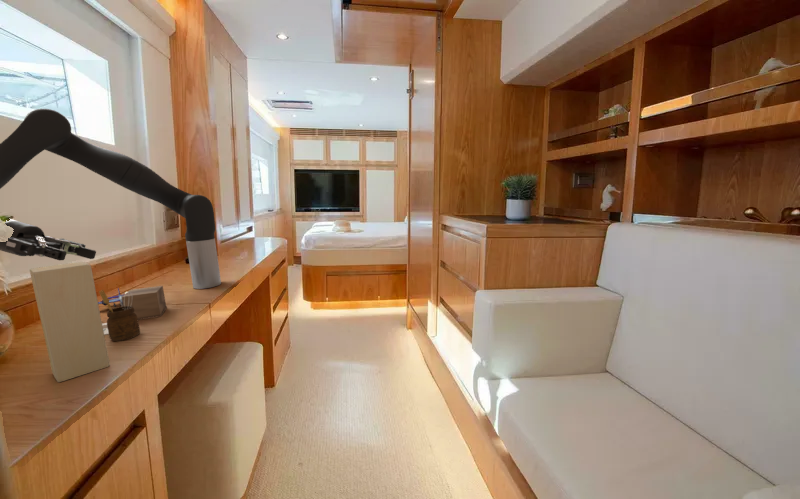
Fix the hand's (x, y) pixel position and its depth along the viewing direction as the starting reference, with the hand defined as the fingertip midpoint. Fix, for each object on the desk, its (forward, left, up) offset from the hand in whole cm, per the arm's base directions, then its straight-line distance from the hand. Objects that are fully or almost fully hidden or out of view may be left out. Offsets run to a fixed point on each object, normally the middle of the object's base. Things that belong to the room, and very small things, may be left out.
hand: (80, 255), depth 85 cm
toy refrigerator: (+21, +4, -20) cm, 29 cm away
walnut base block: (-12, +8, -20) cm, 25 cm away
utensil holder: (+5, +7, -20) cm, 22 cm away
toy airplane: (-25, -1, -21) cm, 33 cm away
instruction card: (-4, 0, -20) cm, 21 cm away
